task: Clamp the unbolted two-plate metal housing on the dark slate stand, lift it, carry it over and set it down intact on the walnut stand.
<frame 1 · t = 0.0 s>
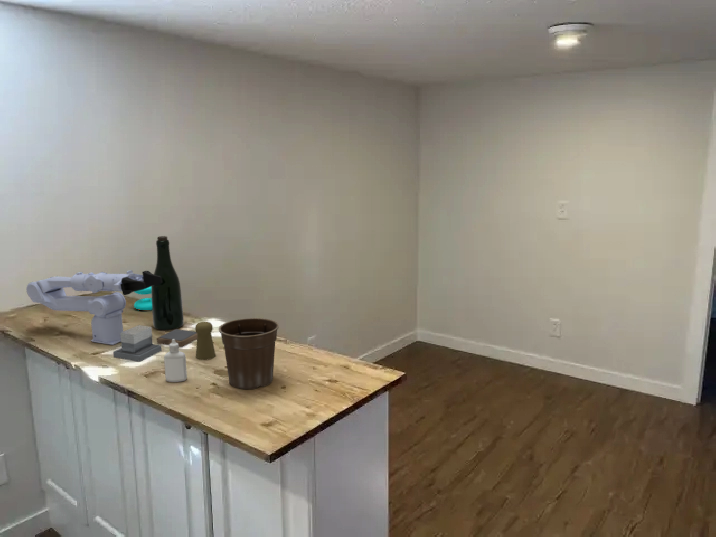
hand: (153, 282, 180), 22 cm above the table, tool horizontal, fingers open, 7 cm apart
plant pot: (251, 381, 159), on the table
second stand: (179, 340, 191), on the table
cork: (205, 356, 177), on the table
dark green wine bottle: (168, 326, 206), on the table
eye dropper bottle: (176, 380, 160), on the table
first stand: (138, 353, 179), on the table
housing: (137, 347, 178), point 2 cm above the table, touching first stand
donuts: (147, 308, 228), on the table
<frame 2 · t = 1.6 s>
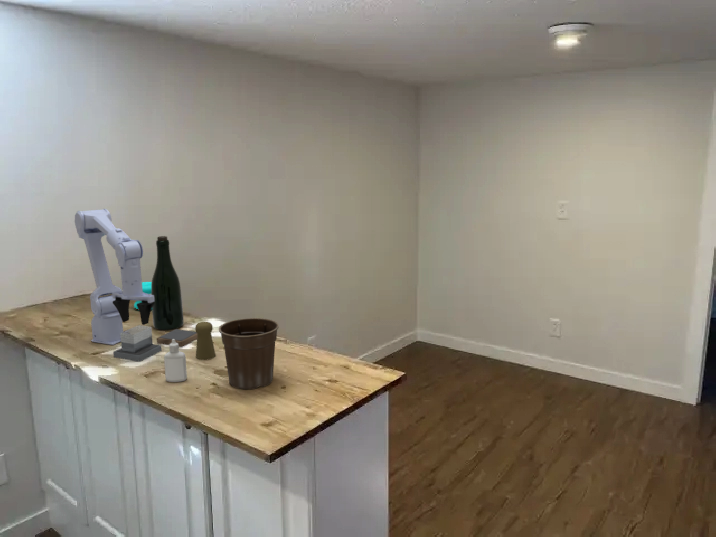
hand: (135, 322, 176), 10 cm above the table, tool pointing down, fingers open, 7 cm apart
nothing on the table moved.
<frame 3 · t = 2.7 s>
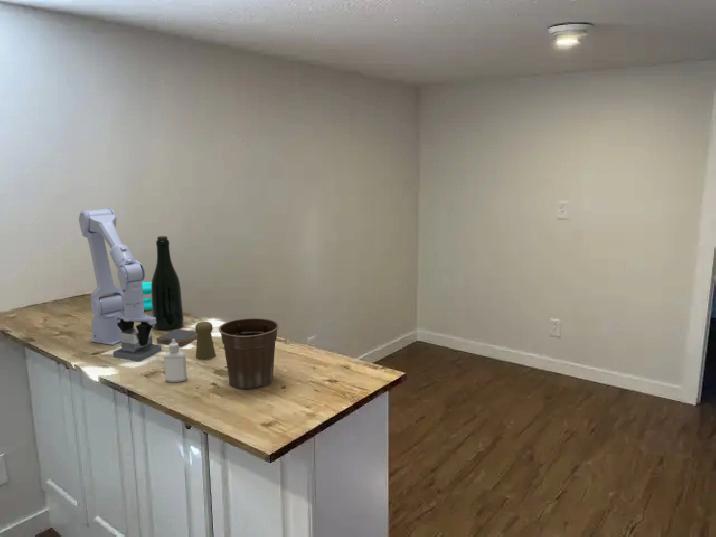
hand: (137, 343, 178), 3 cm above the table, tool pointing down, fingers closed on housing, 5 cm apart
housing: (137, 347, 178), point 2 cm above the table, touching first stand, gripper
everything else where it was.
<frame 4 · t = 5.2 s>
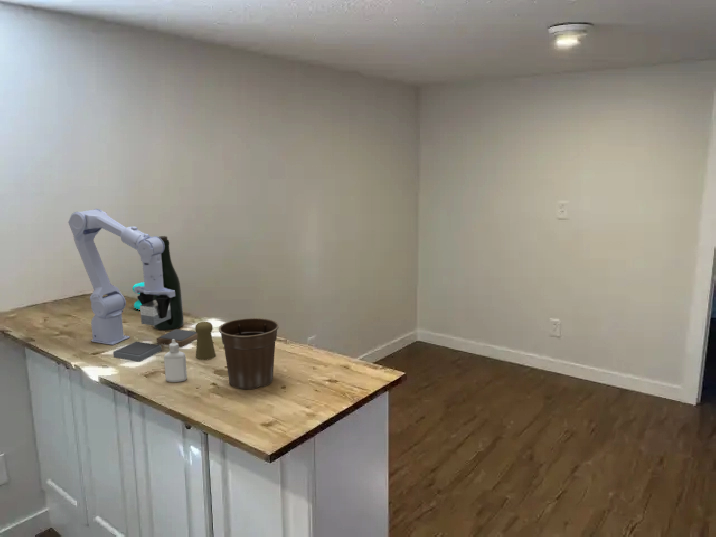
hand: (156, 316, 182), 10 cm above the table, tool pointing down, fingers closed on housing, 5 cm apart
housing: (156, 320, 183), point 9 cm above the table, touching gripper
everything else where it was.
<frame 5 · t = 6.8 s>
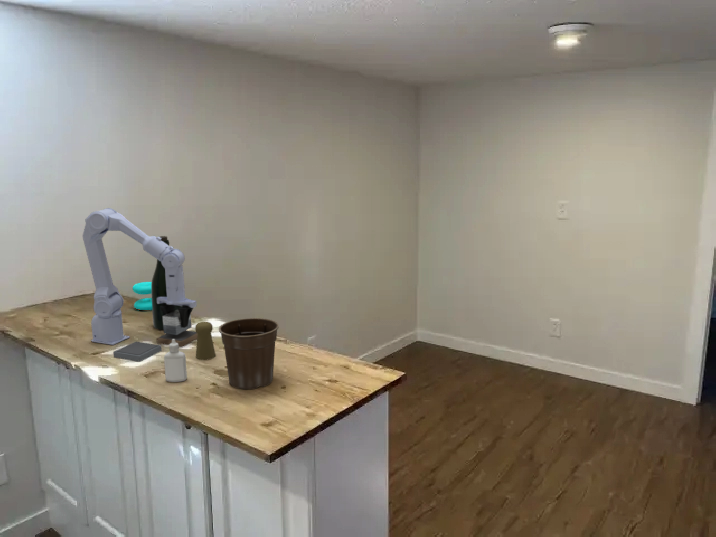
hand: (178, 325, 190), 5 cm above the table, tool pointing down, fingers closed on housing, 5 cm apart
housing: (178, 330, 190), point 4 cm above the table, touching gripper
everything else where it was.
when the fingers open (4 cm above the table, at t = 7.9 s): housing stays where it is, resting on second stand.
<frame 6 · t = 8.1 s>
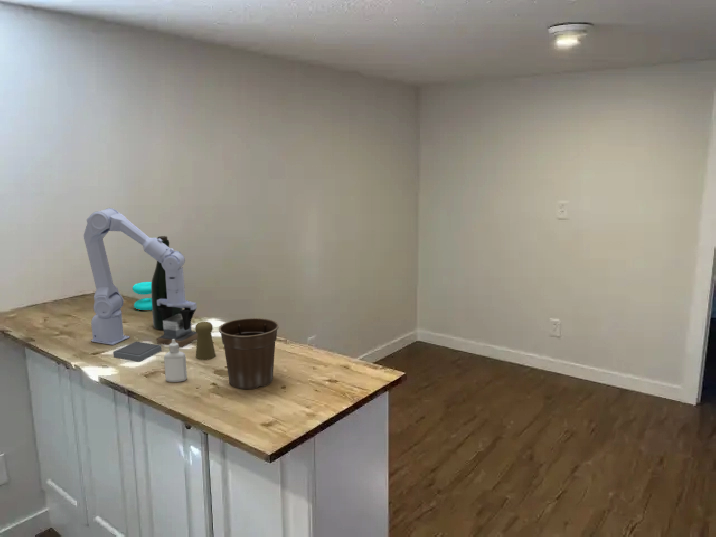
hand: (178, 327, 190), 4 cm above the table, tool pointing down, fingers open, 7 cm apart
housing: (178, 334, 190), point 2 cm above the table, touching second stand
everything else where it was.
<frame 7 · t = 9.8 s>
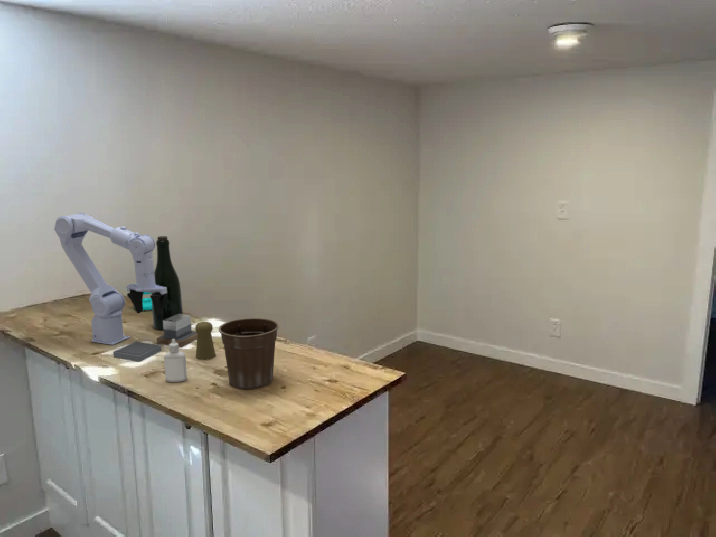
hand: (149, 313, 186), 10 cm above the table, tool pointing down, fingers open, 7 cm apart
nothing on the table moved.
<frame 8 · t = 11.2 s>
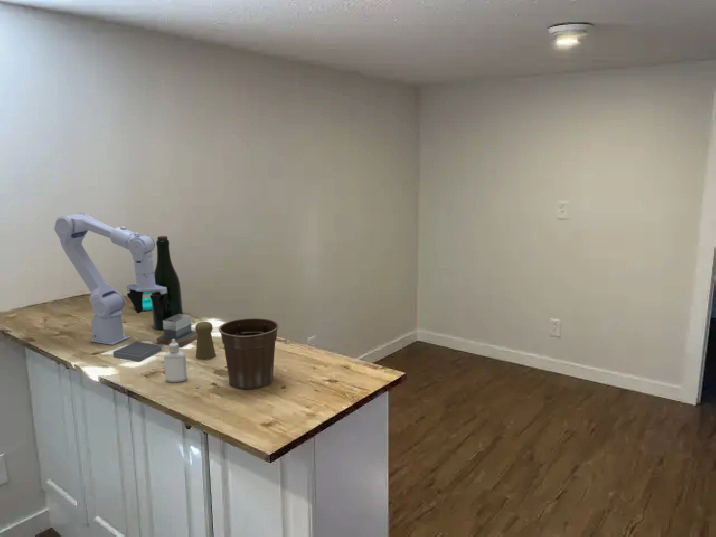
hand: (149, 313, 186), 10 cm above the table, tool pointing down, fingers open, 7 cm apart
nothing on the table moved.
at the end: housing inside the target area on the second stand (0.2 cm from its centre), point 2.0 cm above the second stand's base; housing tilted 0°; the gripper is holding nothing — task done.
